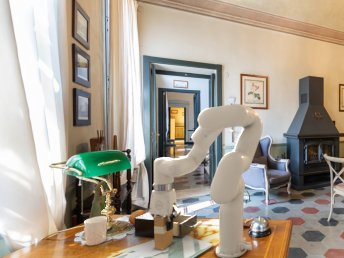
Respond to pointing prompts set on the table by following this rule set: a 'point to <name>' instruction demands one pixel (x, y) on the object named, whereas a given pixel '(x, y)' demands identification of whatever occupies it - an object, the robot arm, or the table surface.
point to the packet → (162, 232)
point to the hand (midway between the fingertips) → (164, 228)
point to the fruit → (134, 215)
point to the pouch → (98, 201)
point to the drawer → (184, 225)
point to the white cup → (95, 230)
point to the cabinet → (145, 225)
